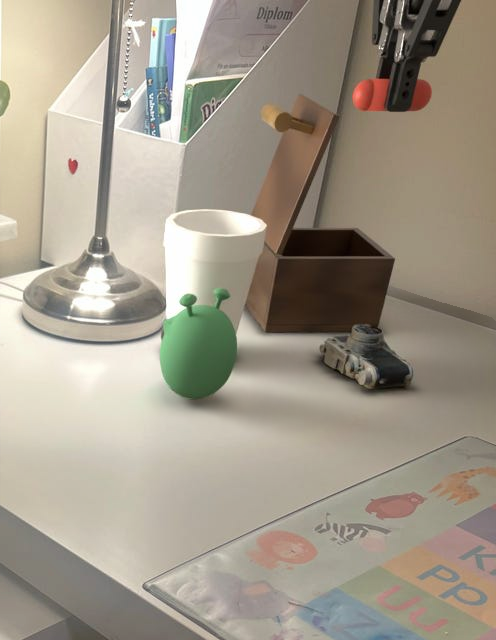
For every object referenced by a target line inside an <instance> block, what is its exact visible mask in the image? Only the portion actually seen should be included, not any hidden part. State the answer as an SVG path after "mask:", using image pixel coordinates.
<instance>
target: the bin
mask: <svg viewBox="0 0 496 640" xmlns="http://www.w3.org/2000/svg"><path fill="white" fill-rule="evenodd" d="M395 261H396V258H395V257H394V256H393V255H392V254H391V253H389V252H388V251H387V250H385V248H383V247H382V246H380V245H379V244H378V243H377V242H376V241H374V240H373V239H372V238H371V237H369V235H367V234H366V233H365V232H364V231H362V230H361V229H360V228H359V227H293V229H292V231H291V234H290V236H289V239H288V241H287V243H286V246H285V248H284V250H283V253H282V255H279V254H276V253H275V252H274V251H273V250H272V249H271V248H270V247H269V246H268V244H267V243H266V242H265V241H264V246H263V251H262V253H261V254H260V256H259V258H258V261H257V265H256V268H255V272H254V275H253V279H252V282H251V285H250V289H249V292H248V296H247V299H246V302H245V307H246V308H247V310H248V311H249V312H250V314H251V315H252V316H253V319H255V321H256V323H258V325H259V326H260V327H261V329H262V330H263V332H264V333H324V332H325V333H332V332H333V333H334V332H335V333H336V332H337V333H339V332H341V333H342V332H344V333H347V332H349V333H351V332H352V327H353V326H355V325H359V324H368V325H370V326H374V327H378V328H379V325H380V323H381V322H380V321H381V317H382V314H383V313H382V312H383V309H384V307H385V306H384V305H385V301H386V297H387V293H388V289H389V285H390V283H391V278H392V273H393V269H394V266H395Z"/></svg>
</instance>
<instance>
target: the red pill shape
mask: <svg viewBox="0 0 496 640" xmlns="http://www.w3.org/2000/svg"><path fill="white" fill-rule="evenodd" d="M388 84H389V79H376V78H367V79H366V78H365V79H364V80H362V81H360V82H359V83H358V84H357V85H356V87H355V88H354V90H353V93H352V102H353V105H354V106H355V108H356V109H358V110H360V111H363V112H388V111H387V110H385V108H384V103H385V99H386V95H387V88H388ZM432 95H433V91H432V87H431V85H430V83H429V82H428V81H426V80H425V79H421V78H418V79H417V83H416V87H415V92H414V96H413V100H412V104H411V107H410V109H409V110H408V111H407V112H417V111H421V110H422V109H424V108H425V107H427V106H428V104H429V103H430V101H431V99H432Z"/></svg>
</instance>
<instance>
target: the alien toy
mask: <svg viewBox="0 0 496 640" xmlns="http://www.w3.org/2000/svg"><path fill="white" fill-rule="evenodd" d="M213 292H214V295H215V296H216V298H217V300H216V303H215V306H214V307H213V306H208V305H194V306H192V305H193V304H194V303H195V302H196V301H197V297H196V296H195V295H193V294H185V295H183V296H182V297H181V298H180V300H179V303H180V305H182V306H184V307H186V308H185V309H183V310H182V311H180V312H179V313H178V314H177V315H175V316H173V317H171V318H169V319H167V318H166V319H164V320H163V322H162V323H163V324H162V329H161V332H160V347H159V364H160V370H161V375H162V377H163V379H164V381H165V383H166V385H167V386H168V388H169V389H171V391H173V393H175V394H176V395H178V396H180V397H182V398H185V399H189V400H201V399H206V398H209V397H210V396H212V395H214V394H216V393H217V392H219V390H221V389H222V388H223V387H224V386H225V384H226V383H227V381H228V380H229V378H230V377H231V374H232V372H233V370H234V367H235V364H236V361H237V356H238V355H237V354H238V339H237V333H235V330H234V327H233V324H232V322H231V320H230V319H229V318H228V316H227V315H226V314H225V313H224V312H223V311H221V310H219V307H220V304H221V302H222V300H225V299H228V298H229V297H230V294H229V292H228V291H227V290H226V289H223V288H218V289H215V290H214V291H213Z"/></svg>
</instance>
